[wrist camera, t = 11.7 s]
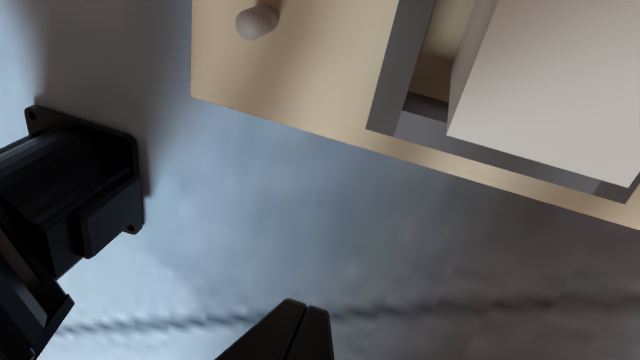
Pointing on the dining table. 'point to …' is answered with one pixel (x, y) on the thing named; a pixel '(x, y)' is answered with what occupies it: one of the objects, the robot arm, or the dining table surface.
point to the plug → (552, 84)
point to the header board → (371, 87)
